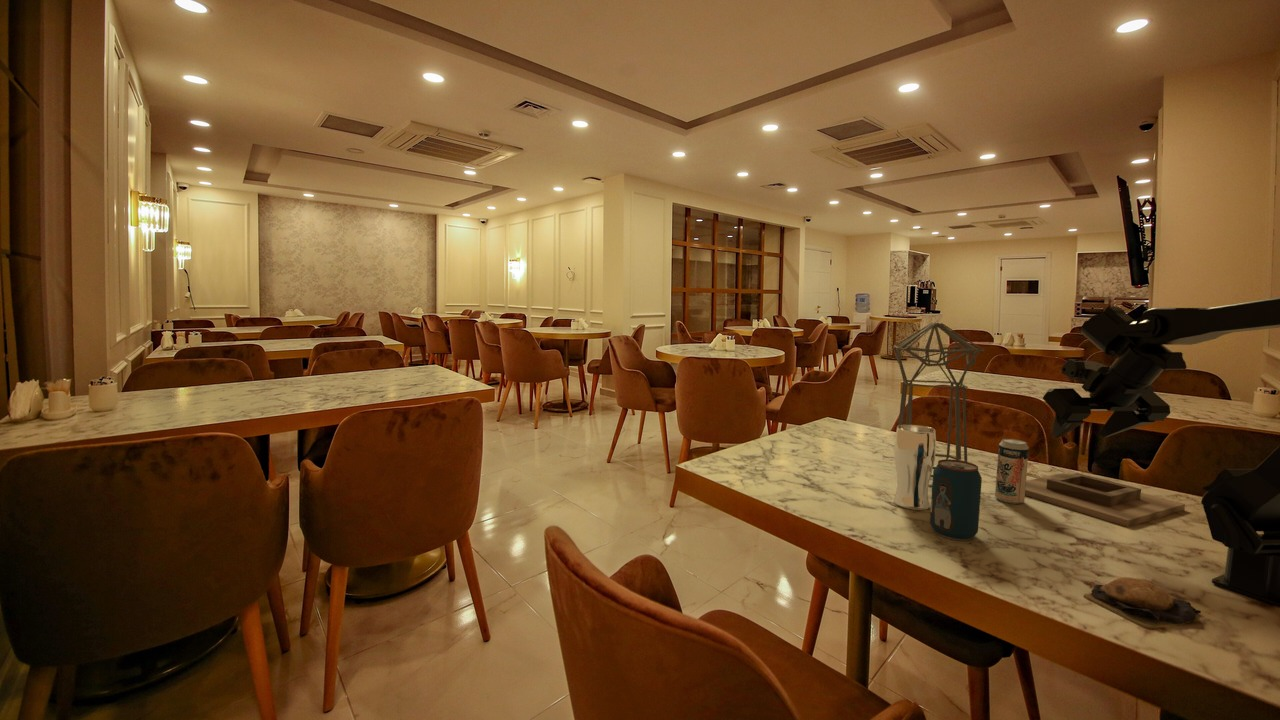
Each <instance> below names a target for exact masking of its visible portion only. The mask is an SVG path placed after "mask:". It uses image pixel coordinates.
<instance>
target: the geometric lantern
mask: <svg viewBox="0 0 1280 720" xmlns="http://www.w3.org/2000/svg"><path fill="white" fill-rule="evenodd" d="M939 329H940V330H941V331H942V332H944V333H945V335H947V336H948V337H949V338H950V339H951V340H952V341H953V342H954V343H955V344H956V346H955V345H954V346H945V347H944V346H943V342H942V338H941V335H940V332H939V331H940V330H939ZM929 331H930V332H929ZM928 332H929V336H928V339H927V342H926V344H925V348H923V347H914V346H913V345H914V344H915V343H916V342H918V341H919V340H920V339H921V338H922V337H924V335H926V334H927V333H928ZM934 332H935V334H936V339H937V344H938V349H936V348H935V349H933V348H930V346H931V344H932V340H933V336H934ZM892 348H893V351H894V354H895V355H894V356H895V357H896V361H897V363H898V365H899V369H900V373H901V376H902V386H901V387H902V388H901V395H900V396H901V397H900V406H899V416H898V422H897V423H898V424H897V426H899V425H904V422H905V425H913V398H914V397H913V396H914V395H913V394H914V390H913V389H914V387H923V388H925V387H926V388H939V389H940V388H942V389H950V391H949V392H950V394H949V406H948V407H949V408H948V409H949V411H948V425H947V427H948V428H947V442H946V443H947V444H946V445H947V447H946V454H939V453H936V454H935V457H939V458H945V459H949V458H950V459H952V460H961V461H966V462H968V441H967V440H968V438H967V437H968V436H967V406H966V405H967V404H966V403H967V402H966V401H967V400H966V399H967V397H966V389H968V386H967V385H965V384H964V380H965V376H966V374H967V373H968V370H969V368H970V367H972V366H973V367H974V366H975V364H976V358H977V356H978V355H979V353H980V352H985V349H983V348H982V347H981V346H979V345H977V344H976V343H974V342H972V341H971V340H969V339H968V338H966V337H964V336H963V335H961V334H960V333H958V332H957V331H956V330H953V329H952V328H950V327H949V326H948V325H946V324H944V323H942V322H941V323H940V322H931V323H929V324H927V325H926V326H924V327H922V328H921V329H919V330H917V331H915V332H914V333H912V334H911V335H909V336H908V337H905V338H904V339H903V340H901V341H899V342H898V343H896V344H894V345H893V346H892ZM901 351H905V352H906V353H908V354H910V355H911V356H912V357H913V358H916V360H917V361H919V362H921V364H920V365H919V367H918V368H917V369H916V371H915V372H914V374H913V376H912V377H911V379H907V378H908V377H907V376H906V372H905V368H904V365H903V362H902V357H901V355H902V354H901ZM913 351H917V352H923V353H925V357H922V356H920V355H918V354H917V353H914V352H913ZM930 353H939V357H938V360H932V359H931V358H930ZM959 353H960V355H957V356H955V357H952V358H950V359H948V360H946V358H948V357H950V356H951V355H953V354H959ZM961 353H962V354H961ZM970 354H972V355H971V359H970ZM965 356H966V357H965ZM963 357H965V359H966V365H965V368H964V371H963V373H962V375H961V377H960V379H959V381H957V380H956V378H955V376H954V375H953V372H952V371H951V369H950V367H949V366H948V364H950V363H951V362H952V363H953V362H954V361H956V360H959V359H960V358H963ZM942 361H943V362H942ZM942 366H944V367H945V369H946V370H947V372H948V374H949V375H950V377H949V376H948V374H947V373H946V371H945V370H944V368H943V367H942ZM926 367H939V368H940V370H941V371H942V372H943V374H944V375H945V376H946V379H947V380H948V381H947V380H946V381H945V380H920V379H917V377H918V376H919V375H920V374H921V372H923V370H924V369H925V368H926ZM950 378H951V379H952V380H951V379H950ZM914 383H937V384H938V383H939V384H941V383H942V384H950V385H934V384H933V385H931V384H914ZM954 385H955V386H954ZM908 387H909V388H908ZM908 389H909V391H908ZM961 389H962V422H963V423H962V424H963V425H962V426H963V458H964V460H962V441H961V440H962V438H961V399H960V393H961V392H960V390H961ZM907 392H908V399H907ZM953 399H954V400H953ZM953 401H954V402H953ZM953 403H954V417H955V418H954V421H955V427H954V428H955V431H954V432H955V456H953V455H950V451H951V439H952V437H951V436H952V419H953V418H952V417H953V416H952V415H953ZM906 404H907V406H906ZM906 407H907V408H906ZM906 409H907V410H906ZM905 412H906V414H905ZM905 415H906V416H905ZM905 417H906V420H905ZM935 468H936V466H933V470H934V469H935ZM931 478H932V479H933V474H931V477H930V479H931ZM928 488H932V484H931V485H930V484H929V486H928Z"/></svg>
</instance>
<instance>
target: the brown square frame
mask: <svg viewBox="0 0 1280 720" xmlns="http://www.w3.org/2000/svg"><path fill="white" fill-rule="evenodd" d="M1026 496H1027V497H1029V498H1033V499H1036V500H1038V501H1042V502H1046V503H1048V504H1051V505H1055V506H1058V507H1062V508H1065V509H1068V510H1072V511H1073V512H1078V513H1081V514H1084V515H1087V516H1091V517H1094V518H1096V519H1097V518H1098V519H1100V520H1103V521H1106V522H1110V523H1114V524H1115V525H1116V524H1117V525H1120V526H1123V527H1126V528H1129V527H1132V526H1135V525H1139V524H1142V523H1146V522H1148V521H1152V520H1155V519H1158V518H1162V517H1166V516H1169V515H1173V514H1176V513H1179V512H1184V511H1185V508H1186V504H1185V503H1182V502H1180V501H1179V502H1178V501H1174V500H1170V499H1166V498H1163V497H1159V496H1155V495H1151V494H1148V493H1144V492H1142V488H1138V487H1134V486H1130V485H1126V484H1122V483H1118V482H1114V481H1110V480H1107V479H1106V480H1105V479H1104V478H1103V479H1102V478H1098V477H1095V476H1091V475H1087V474H1083V473H1079V472H1076V473H1071V474H1069V473H1065V472H1062V473H1059V474H1053V475H1052V474H1051V475H1048V476H1044V477H1039V478H1032V479H1029V480H1028V479H1026V488H1025V497H1026Z"/></svg>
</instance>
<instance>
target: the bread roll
mask: <svg viewBox="0 0 1280 720" xmlns="http://www.w3.org/2000/svg"><path fill="white" fill-rule="evenodd" d="M1083 598H1084V599H1085V600H1088V601H1089V602H1091V603H1094V604H1096V605H1098V606H1099V607H1101V608H1104V609H1106V610H1108V611H1110V612H1111V613H1114V614H1116V615H1118V616H1120V617H1122V618H1124V619H1126V620H1128V621H1130V622H1131V623H1133V624H1136V625H1137V626H1140V627H1141V628H1144V629H1147V630H1151V629H1152V630H1153V629H1154V630H1155V629H1160V628H1167V627H1174V626H1181V625H1184V624H1188V623H1192V622H1195V621H1198V618H1197V617H1196V616H1197V615H1200V614H1201V613H1202V611H1201V610H1200V609H1199V610H1198V609H1196V608H1195V607H1194V606H1192V604H1191V602H1189V601H1187V600H1183V599H1180V598H1175V597H1174V596H1172V595H1170V594H1169V593H1168V592H1167V591H1166V590H1164V589H1163V588H1161V587H1159V586H1157V585H1155V584H1153V583H1151V582H1149V581H1146V580H1144V579H1140V578H1136V577H1125V576H1123V577H1119V578H1116V579H1114V580H1112V581H1110V582H1108V583H1106V584H1095V585H1093V588H1092V589H1091V591H1090V593H1084V594H1083Z"/></svg>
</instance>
